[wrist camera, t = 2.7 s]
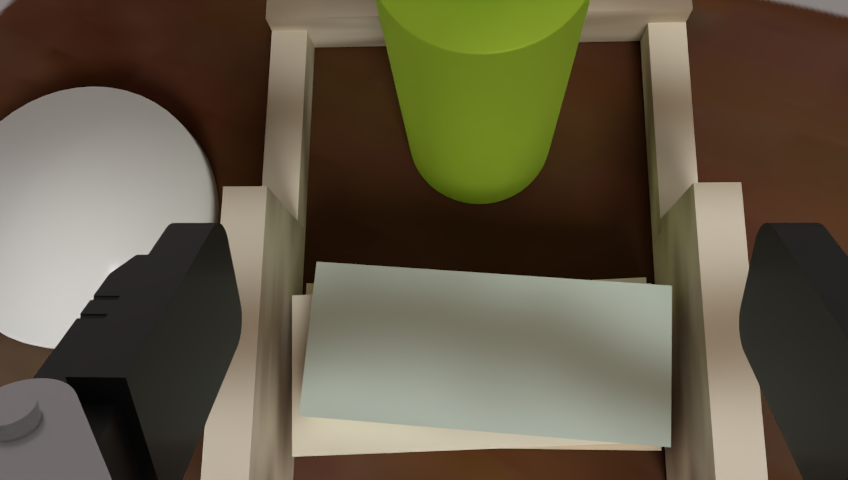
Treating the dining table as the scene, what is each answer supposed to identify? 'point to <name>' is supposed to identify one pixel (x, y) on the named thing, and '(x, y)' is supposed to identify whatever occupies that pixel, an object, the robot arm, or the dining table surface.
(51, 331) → the ceramic trivet
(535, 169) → the soap dispenser
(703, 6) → the dining table surface
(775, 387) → the robot arm
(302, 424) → the offcut rack
